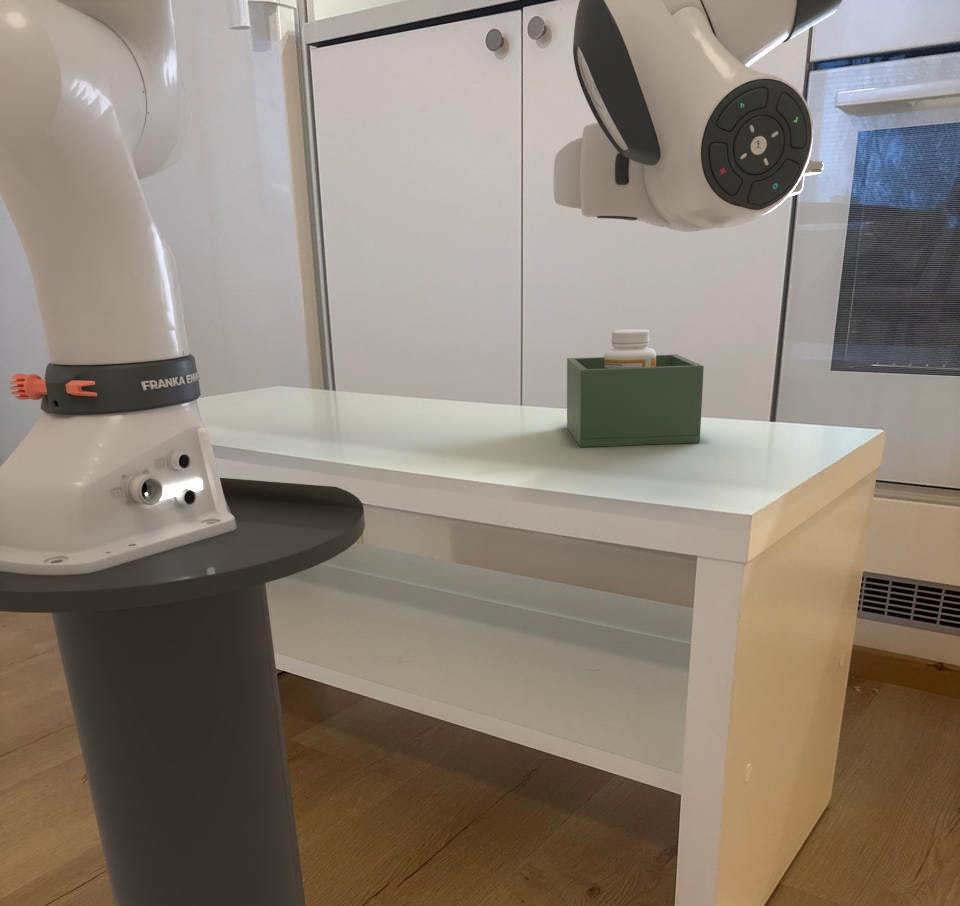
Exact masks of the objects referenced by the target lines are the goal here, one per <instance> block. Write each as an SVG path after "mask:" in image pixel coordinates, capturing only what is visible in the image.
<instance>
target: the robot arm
mask: <svg viewBox="0 0 960 906" xmlns="http://www.w3.org/2000/svg"><path fill="white" fill-rule="evenodd" d="M842 2H843V0H579V2H578V5H577V9H576V13H575V21H574V29H573V41H572V42H573V44H572V53H573V54H572V56H573V62H574V63H573V64H574V68H575V72H576V75H577V79H578V83H579V85H580V88H581V90H582V93H583V95H584V97H585V100H586V102H587V104H588V106H589V109H590V110H591V111H590V112H591V113H592V115H593V117H594V118H595V120H596V122H593V123H589V124H587V125H585V126H584V127H583V129H582V135H581V137H579V138H576V139H573V140H571V141H569V142H568V143H566V144H565V145H564V146H563V147H562V148H561V149H559V151H558V152H557V153H556V154H555V157H554V160H553V200H554V202H555V204H557V205H559V206H562V207H567V208H572V209H579V210H581V214H582V216H584V217H586V218H597V219H614V220H624V221H639V222H643V223H646V224H649V225H652V226H655V227H658V228H667V229H669V230H672V231H677V232H682V233H683V232H684V233H689V232H691V233H693V232H700V231H709V230H713V229H725V228H732V227H737V226H740V225H744V224H747V223H750V222H753V221H755V220H757V219H760V218H762V217H763V216H766V215H767V214H769V213H771V212H773V211H774V210H775V209H777V207H779V206H780V205H781V204H782V203H783V202H784V201H785V200H786V199H787V198H789V197H792V196H796V195H799V194H800V193H801V192H802V191H803V189H804V181H805V176H812V175H813V176H815V175H817V174H818V175H819V174H821V173H823V170H824V168H825V166H824V161H823V160H812V159H810V157H811V154H812V148H813V141H814V124H813V117H812V113H811V109H810V107H809V104H808V102H807V101H806V99H805V97H804V96H803V94H802V93H801V92H800V91H799V90H798V88H796V87H795V86H794V85H793V84H791V83H790V82H789V81H788V80H785V79H784V78H781V77H779V76H777V75H773V74H770V73H769V74H768V73H765V72H761V71H757V70H754V69H752V68H751V67H750V66H751V65H752V64H754V63H755V62H756V61H758V60H759V59H761V58H762V57H764V56H765V55H766V54H767V53H769V52H770V51H772V50H773V49H774V48H775V47H777V46H778V45H780V44H781V43H787V42H788V41H790V40H791V39H793V38H795V37H797V36H799V35H800V34H802V33H803V32H805V31H807V30H809V29H810V28H812V27H814V26H815V25H817V24H819V23H820V22H822V21H825V19H827V18H829V17H831V16H832V15H834V14H835V13H836V12H837V11H838V9H839V7H840V6H841V4H842ZM175 25H176V24H175V16H174V6H173V0H0V198H1V200H2V201H3V203H4V206H5V208H6V211H7V212H8V214H9V216H10V217H9V218H11V221H12V223H13V226H14V228H15V230H16V232H17V235H18V237H19V240H20V242H21V245H22V247H23V250H24V253H25V256H26V259H27V262H28V266H29V269H30V273H31V276H32V280H33V285H34V289H35V295H36V299H37V304H38V308H39V313H40V318H41V322H42V327H43V332H44V336H45V341H46V347H47V351H48V356H49V361H50V362H49V363H48V364H47V365H46V366H45V367H46V368H45V373H44V378H42V377H41V376H40V375H38V374H35V373H31V374H25V373H15V374H13V375H12V376H11V378H10V379H11V381H9V384H8V385H13V386H9V390H14V391H11V392H10V393H11V394H12V395H17V396H15V399H17V400H33V401H38V400H39V401H40V409H41V410H42V411H43V413H42V415H40V418H39V419H38V420H37V421H36V422H35V423H34V425H33V426H32V427H31V428H30V430H29V431H28V432H27V434H26V435H25V436H24V437H23V439H22V440H21V442H20V443H19V444H18V445H17V446H16V447H15V449H14V450H13V451H12V452H11V454H10V455H9V456H7V458H6V459H5V460H4V461H3V463H2V464H1V465H0V571H2V572H9V573H17V574H28V575H54V576H56V575H78V574H88V573H93V572H97V571H100V570H104V569H107V568H110V567H114V566H117V565H120V564H124V563H127V562H130V561H134V560H137V559H140V558H144V557H147V556H150V555H154V554H157V553H160V552H164V551H167V550H170V549H174V548H177V547H180V546H184V545H187V544H190V543H194V542H197V541H200V540H204V539H207V538H210V537H214V536H217V535H220V534H224V533H227V532H230V531H233V530H235V529H236V528H237V525H236V521H235V517H234V516H233V515H232V514H231V511H230V509H229V507H228V505H227V502H226V500H225V497H224V494H223V490H222V486H221V482H220V478H221V477H220V474H219V469H218V465H217V462H216V457H215V454H214V450H213V446H212V441H211V438H210V435H209V432H208V430H207V428H206V426H205V424H204V421H203V418H202V416H201V413H200V410H199V404H198V399H199V398H200V397H201V395H202V394H201V387H200V386H201V385H200V379H201V378H200V373H199V371H198V369H197V363H196V357H195V356H194V355H193V354H191V353H190V349H189V342H188V336H187V329H186V322H185V315H184V308H183V307H184V306H183V301H182V294H181V287H180V279H179V273H178V266H177V265H178V264H177V261H176V258H175V256H174V255H175V254H174V253H173V251H172V249H171V247H170V245H169V244H168V243H167V242H166V240H165V239H164V237H163V236H162V234H161V232H160V230H159V228H158V226H157V224H156V222H155V219H154V217H153V215H152V213H151V210H150V207H149V205H148V203H147V199H146V197H145V194H144V190H143V188H142V185H141V183H140V180H142V179H145V178H149V177H152V176H154V175H157V174H159V173H162V172H164V171H167V170H168V169H170V168H171V167H172V166H174V165H175V164H176V163H177V162H178V161H179V160H180V159H181V157H182V156H183V155H184V153H185V151H186V150H187V147H188V145H189V143H190V140H191V137H192V130H193V110H192V104H191V100H190V97H189V94H188V91H187V89H186V86H185V85H184V81H183V78H182V75H181V70H180V64H179V63H180V62H179V57H178V55H179V54H178V46H177V45H178V44H177V37H176V36H177V35H176V26H175Z"/></svg>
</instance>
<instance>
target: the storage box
mask: <svg viewBox="0 0 960 906" xmlns="http://www.w3.org/2000/svg"><path fill="white" fill-rule="evenodd" d="M704 370H705V366H704V365H702V364H700V363H698V362H695V361H693V360H690V359H689V358H687V357H684V356H681V355H679V354H677V353H676V354H675V353H674V354H672V353H671V354H656V367H637V368H610V369H604V356H594V357H593V356H592V357H568V358H566V428H567V430H568V431H569V433H570V434H571V435H572V437H573V438H574V440H575V441H576V443H577V444H578V446H579V447H580V448H591V447H592V448H594V447H595V448H596V447H618V446H619V447H620V446H622V447H623V446H645V445H646V446H647V445H672V444H675V445H676V444H698V443H699V444H700V443H701V428H702V427H701V425H702V409H703V407H702V406H703V391H704V390H703V388H704V372H705V371H704Z"/></svg>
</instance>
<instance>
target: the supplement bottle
mask: <svg viewBox="0 0 960 906" xmlns="http://www.w3.org/2000/svg"><path fill="white" fill-rule="evenodd" d="M650 341H651V340H650V330H649V329H643V328H640V329H639V328H634V329H633V328H629V329H627V328H626V329H615V330H612V332H611V341H610V342H611V346H612V347H613V348H610V349H608V350H606V351H605V352H604V356H603V357H604V369H610V368H637V367H656V355H657V351H656V350H655V349H654V348H652V347H649V346H650Z"/></svg>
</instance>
